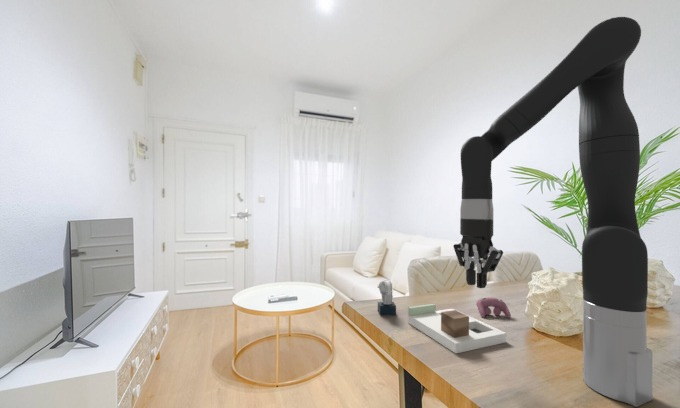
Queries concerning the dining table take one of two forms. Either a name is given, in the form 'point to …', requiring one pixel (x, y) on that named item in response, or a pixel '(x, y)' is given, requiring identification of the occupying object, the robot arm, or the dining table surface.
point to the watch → (386, 299)
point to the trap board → (430, 324)
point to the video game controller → (492, 302)
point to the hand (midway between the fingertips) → (476, 285)
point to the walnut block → (455, 323)
